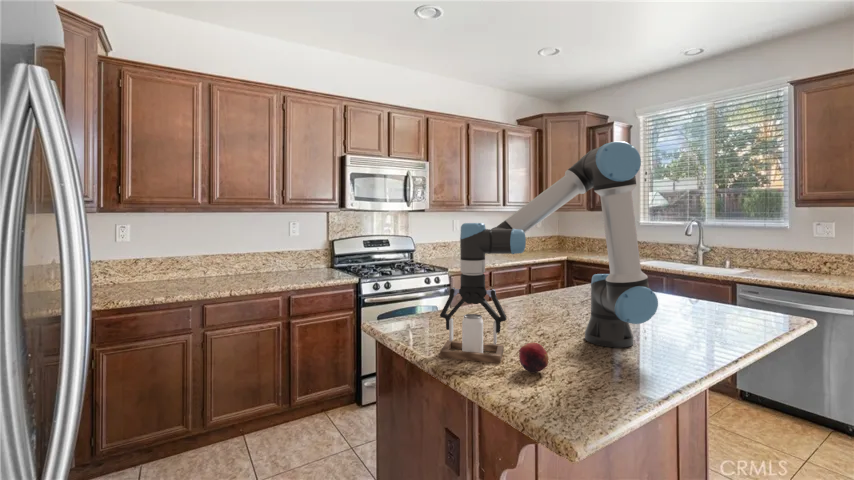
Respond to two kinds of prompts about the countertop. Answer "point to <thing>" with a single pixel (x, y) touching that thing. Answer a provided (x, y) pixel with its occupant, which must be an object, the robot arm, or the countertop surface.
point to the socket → (472, 356)
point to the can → (472, 333)
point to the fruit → (533, 357)
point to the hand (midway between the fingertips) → (472, 341)
